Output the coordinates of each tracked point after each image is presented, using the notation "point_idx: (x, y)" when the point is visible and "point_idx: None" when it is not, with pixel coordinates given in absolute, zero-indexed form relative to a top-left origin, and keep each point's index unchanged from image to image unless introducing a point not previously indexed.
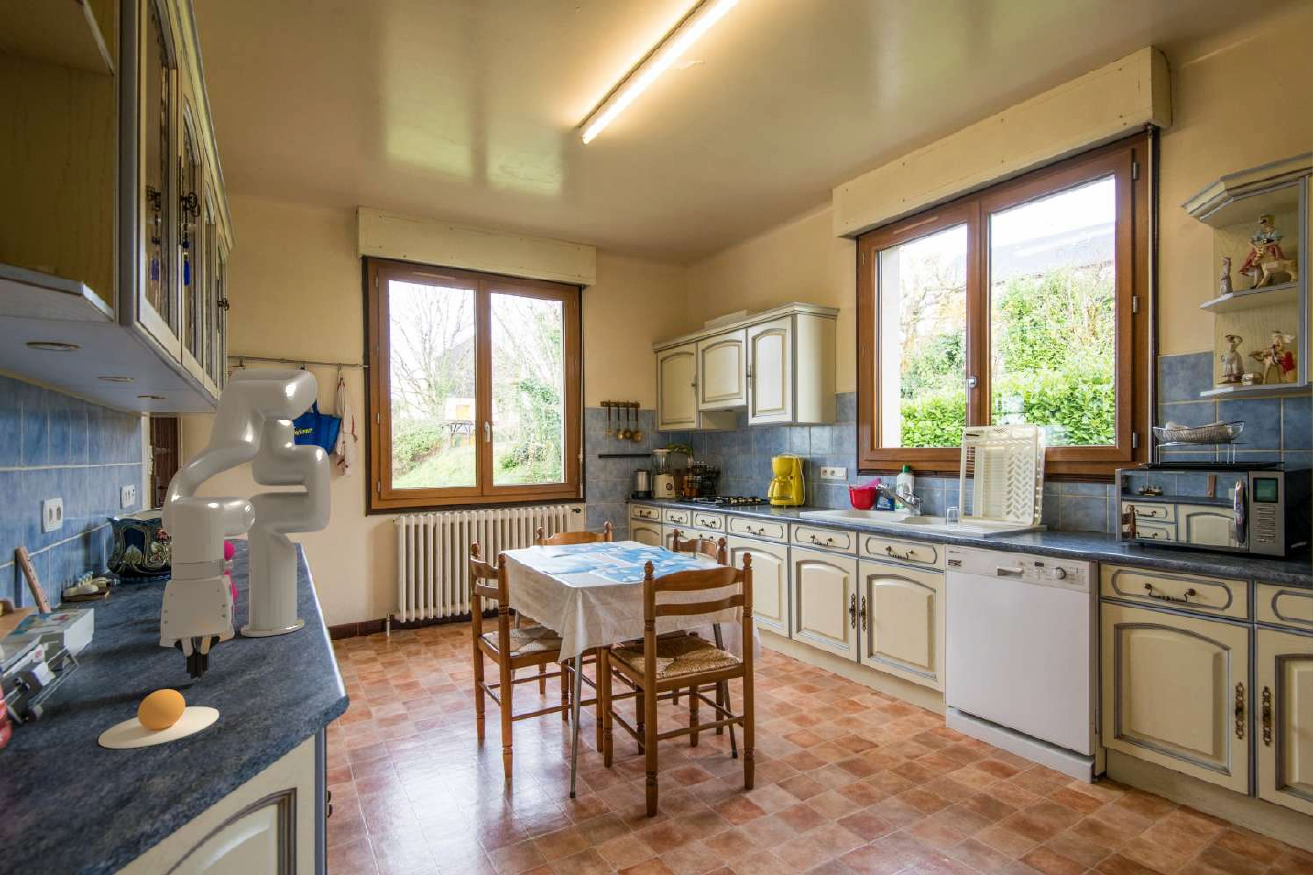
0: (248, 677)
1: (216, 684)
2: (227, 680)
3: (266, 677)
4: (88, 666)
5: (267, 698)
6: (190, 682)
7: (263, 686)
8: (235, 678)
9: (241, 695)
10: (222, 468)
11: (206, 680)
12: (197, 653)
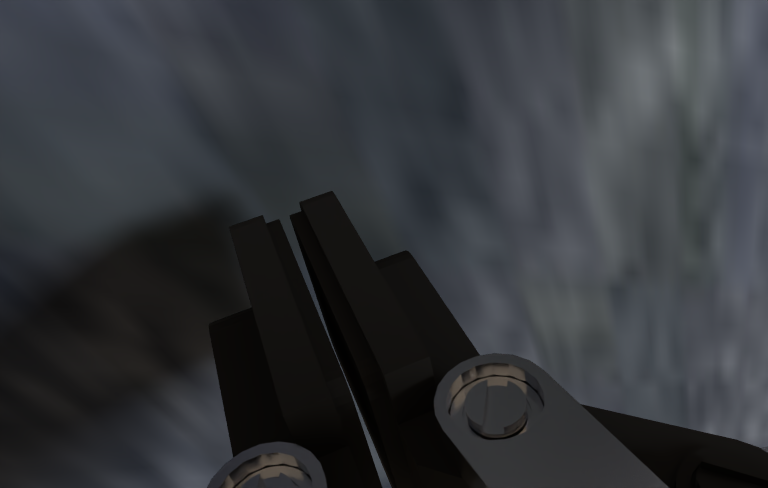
0: (647, 106)
1: (446, 244)
2: (503, 158)
3: (760, 131)
4: None
5: (741, 438)
6: (165, 167)
7: (734, 300)
8: (554, 114)
9: (638, 415)
10: None
11: (309, 129)
12: (366, 456)
